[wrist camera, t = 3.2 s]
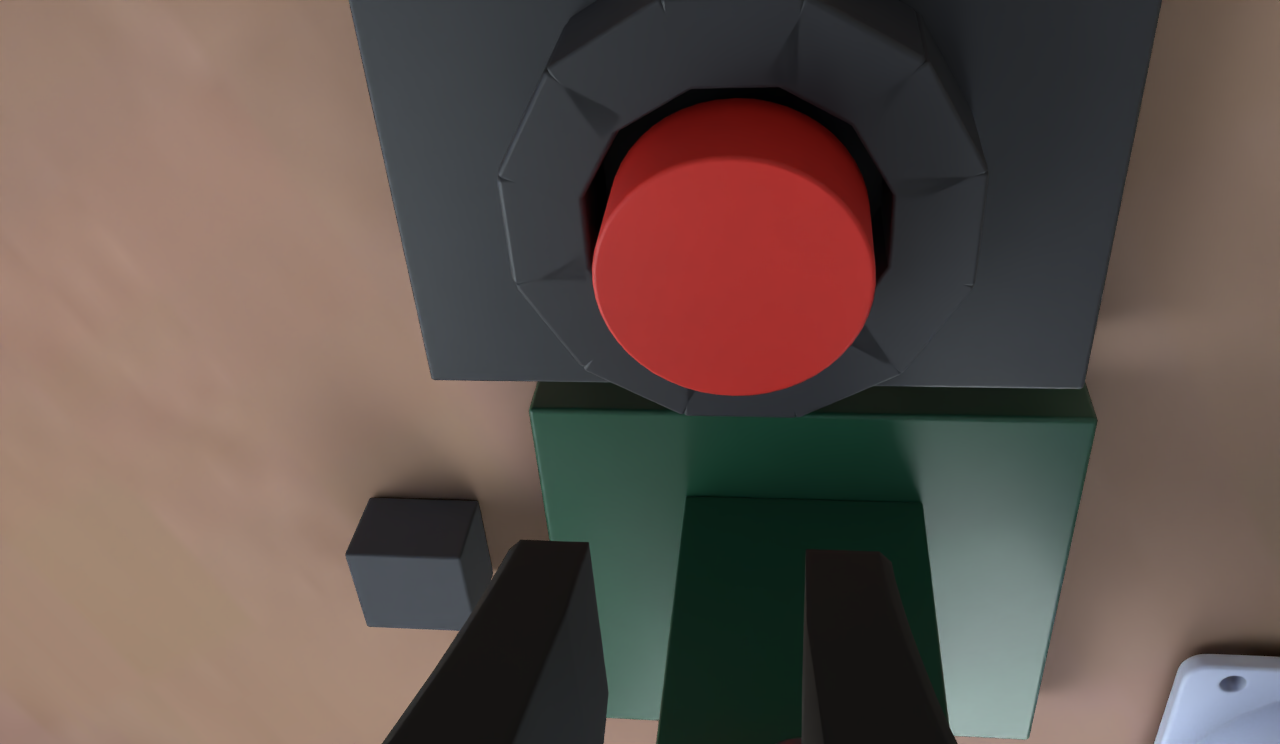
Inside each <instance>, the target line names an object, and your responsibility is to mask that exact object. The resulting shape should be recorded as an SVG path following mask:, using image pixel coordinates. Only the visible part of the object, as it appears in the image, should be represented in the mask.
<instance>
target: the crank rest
mask: <svg viewBox="0 0 1280 744" xmlns="http://www.w3.org/2000/svg"><path fill="white" fill-rule="evenodd" d="M345 555H346V559H347V562H348V565H349V568H350V572H351V575H352V578H353V581H354V585H355V588H356V591H357V594H358V597H359V601H360V604H361V607H362V610H363V614H364V617H365V620H366V623H367V626H369V627H386V628H410V629H433V630H456V631H460V630H461V628H462V627H463V625H464V624H465V622H466V620H467V619H468V617H469V616H470V614H471V613H472V611H473V609H474V608H475V606H476V605H477V603H478V601H479V600H480V598H481V596H482V595H483V593H484V592H485V590H486V588H487V587H488V585H489V583H490V582H491V578H492V575H493V571H492V566H491V561H490V556H489V551H488V546H487V541H486V536H485V532H484V527H483V522H482V517H481V512H480V507H479V503H478V501H465V500H429V499H393V498H370V499H369V501H368V503H367V506H366V508H365V510H364V512H363V515H362V517H361V519H360V522H359V524H358V526H357V528H356V531H355V533H354V535H353V538H352V540H351V542H350V545H349V547H348V549H347V551H346V554H345Z"/></svg>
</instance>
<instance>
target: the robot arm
mask: <svg viewBox="0 0 1280 744" xmlns="http://www.w3.org/2000/svg"><path fill="white" fill-rule="evenodd" d="M608 696H609V691H608V683H607V676H606V668H605V661H604V653H603V646H602V638H601V630H600V623H599V615H598V608H597V600H596V592H595V585H594V577H593V570H592V562H591V554H590V547H589V542H570V541H539V540H520V541H519V542H517V543H516V544H515V545H514V546H513V547H511V548H510V549H509V551H508V553H507V554H506V556H505V558H504V559H503V561H502V563H501V565H500V566H499V568H498V570H497V572H496V573H495V575H494V577H493V578H492V580H491V582H490V583H489V585H488V587H487V588H486V590H485V592H484V593H483V595H482V596H481V598H480V600H479V601H478V603H477V605H476V606H475V608H474V609H473V611H472V613H471V614H470V616H469V617H468V619H467V620H466V622H465V624H464V625H463V627H462V628H461V630H460V631H459V633H458V634H457V636H456V637H455V639H454V640H453V642H452V644H451V645H450V647H449V648H448V650H447V651H446V653H445V654H444V656H443V657H442V659H441V660H440V662H439V663H438V665H437V666H436V668H435V669H434V671H433V672H432V674H431V675H430V676H429V678H428V679H427V681H426V682H425V684H424V685H423V686H422V688H421V689H420V691H419V692H418V693H417V695H416V696H415V698H414V699H413V700H412V702H411V703H410V705H409V706H408V708H407V709H406V710H405V712H404V713H403V715H402V716H401V717H400V719H399V720H398V722H397V723H396V725H395V726H394V727H393V729H392V730H391V732H390V733H389V734H388V736H387V737H386V739H385V740H384V741H383V743H382V744H603V743H604V733H605V724H606V715H607V705H608ZM802 744H957V742H956V740H955V737H954V735H953V733H952V731H951V729H950V727H949V725H948V722H947V720H946V718H945V715H944V713H943V711H942V708H941V706H940V704H939V701H938V699H937V697H936V694H935V692H934V689H933V687H932V684H931V682H930V679H929V677H928V674H927V672H926V669H925V667H924V664H923V661H922V659H921V656H920V654H919V651H918V649H917V646H916V643H915V640H914V637H913V635H912V632H911V629H910V626H909V623H908V620H907V617H906V614H905V611H904V608H903V605H902V601H901V598H900V594H899V591H898V587H897V584H896V580H895V576H894V571H893V566H892V562H891V561H890V560H889V559H887V558H886V557H885V556H884V555H883V554H882V553H880V552H879V551H848V550H817V549H806V558H805V598H804V639H803V679H802ZM1154 744H1280V657H1275V656H1251V655H1227V654H1198V655H1195V656H1192V657H1189V658H1188V659H1186V660H1185V661H1183V662H1182V663H1181V665H1180V667H1179V668H1178V671H1177V674H1176V677H1175V680H1174V683H1173V686H1172V689H1171V692H1170V696H1169V699H1168V702H1167V705H1166V708H1165V711H1164V714H1163V717H1162V720H1161V723H1160V727H1159V730H1158V733H1157V736H1156V739H1155V742H1154Z"/></svg>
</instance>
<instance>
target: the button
mask: <svg viewBox="0 0 1280 744" xmlns="http://www.w3.org/2000/svg"><path fill="white" fill-rule="evenodd" d="M592 283H593V289H594V294H595V299H596V302H597V305H598V308H599V311H600V313H601V315H602V317H603V319H604V321H605V323H606V325H607V327H608V329H609V330H610V332H611V333H612V335H613V336H614V338H615V339H616V340H617V342H618V343H619V344H620V345H621V346H622V347H623V348H624V350H625V351H626V352H627V353H628V354H629V355H630V356H632V357H633V358H634V359H635V360H636V361H637V362H638V363H640V364H641V365H642V366H644V367H645V368H647V369H648V370H650V371H651V372H653V373H654V374H656V375H658V376H660V377H662V378H664V379H665V380H667V381H670V382H672V383H675V384H677V385H680V386H682V387H685V388H688V389H692V390H695V391H699V392H704V393H710V394H716V395H728V396H746V395H757V394H764V393H770V392H774V391H778V390H782V389H786V388H788V387H791V386H794V385H796V384H799V383H801V382H803V381H805V380H807V379H809V378H811V377H813V376H815V375H817V374H818V373H820V372H821V371H823V370H824V369H826V368H827V367H829V366H830V365H831V364H832V363H833V362H835V361H836V360H837V359H838V358H839V357H840V356H842V354H843V353H844V352H845V351H846V350H847V349H848V348H849V347H850V345H851V344H852V343H853V342H854V340H855V339H856V337H857V336H858V334H859V333H860V331H861V330H862V328H863V326H864V324H865V322H866V320H867V318H868V316H869V313H870V310H871V306H872V303H873V300H874V293H875V286H876V266H875V255H874V245H873V235H872V224H871V214H870V204H869V198H868V192H867V188H866V185H865V182H864V179H863V176H862V173H861V171H860V169H859V168H858V166H857V164H856V162H855V160H854V158H853V157H852V156H851V154H850V153H849V151H848V150H847V148H846V147H845V146H844V145H843V144H842V143H841V142H840V141H839V139H838V138H837V137H836V136H835V135H834V134H833V133H831V132H830V131H829V130H828V129H826V128H825V127H824V126H823V125H822V124H820V123H819V122H817V121H815V120H814V119H812V118H810V117H809V116H807V115H805V114H803V113H801V112H799V111H797V110H794V109H792V108H790V107H787V106H784V105H780V104H777V103H774V102H770V101H764V100H758V99H747V98H729V99H717V100H712V101H707V102H702V103H698V104H695V105H692V106H689V107H687V108H684V109H681V110H679V111H677V112H675V113H673V114H671V115H669V116H667V117H665V118H664V119H662V120H661V121H659V122H658V123H656V124H655V125H653V126H652V127H651V128H650V129H649V130H648V131H646V132H645V133H644V134H643V135H642V136H641V137H640V138H639V139H638V140H637V141H636V142H635V144H634V145H633V146H632V147H631V148H630V150H629V151H628V153H627V154H626V156H625V157H624V159H623V161H622V162H621V164H620V166H619V168H618V171H617V173H616V175H615V178H614V181H613V185H612V188H611V192H610V195H609V199H608V203H607V206H606V210H605V213H604V217H603V221H602V224H601V228H600V231H599V235H598V238H597V242H596V246H595V249H594V254H593V262H592Z"/></svg>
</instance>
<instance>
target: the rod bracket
mask: <svg viewBox="0 0 1280 744" xmlns="http://www.w3.org/2000/svg"><path fill="white" fill-rule="evenodd" d="M529 416H530V422H531V428H532V434H533V441H534V447H535V453H536V459H537V466H538V472H539V478H540V484H541V491H542V497H543V503H544V509H545V516H546V522H547V528H548V534H549V541H570V542H589V547H590V554H591V562H592V570H593V577H594V585H595V592H596V600H597V608H598V615H599V623H600V630H601V638H602V646H603V653H604V661H605V668H606V676H607V683H608V691H609V696H608V705H607V715H606V718H620V719H639V720H659V724H658V732H657V741H656V744H802V679H803V639H804V598H805V558H806V549H817V550H848V551H879V552H880V553H882V554H883V555H884V556H885V557H886V558H887V559H889V560H890V561H891V562H892V566H893V571H894V576H895V580H896V584H897V587H898V591H899V594H900V598H901V601H902V605H903V608H904V611H905V614H906V617H907V620H908V623H909V626H910V629H911V632H912V635H913V637H914V640H915V643H916V646H917V649H918V651H919V654H920V656H921V659H922V661H923V664H924V667H925V669H926V672H927V674H928V677H929V679H930V682H931V684H932V687H933V689H934V692H935V694H936V697H937V699H938V701H939V704H940V706H941V708H942V711H943V713H944V715H945V718H946V720H947V722H948V725H949V727H950V729H951V731H952V733H953V735H954V736H964V737H983V738H1002V739H1022V740H1026V739H1028V738H1029V736H1030V731H1031V727H1032V722H1033V718H1034V713H1035V708H1036V704H1037V699H1038V694H1039V690H1040V685H1041V681H1042V676H1043V671H1044V667H1045V662H1046V657H1047V653H1048V648H1049V644H1050V639H1051V634H1052V630H1053V625H1054V620H1055V616H1056V611H1057V607H1058V602H1059V597H1060V593H1061V588H1062V583H1063V579H1064V574H1065V570H1066V565H1067V560H1068V556H1069V551H1070V547H1071V542H1072V537H1073V533H1074V528H1075V523H1076V519H1077V514H1078V510H1079V505H1080V500H1081V496H1082V491H1083V486H1084V482H1085V477H1086V473H1087V468H1088V463H1089V459H1090V454H1091V449H1092V445H1093V440H1094V436H1095V431H1096V426H1097V422H1098V420H1097V417H1096V414H1095V411H1094V408H1093V405H1092V402H1091V398H1090V395H1089V392H1088V389H1087V386H1086V383H1085V384H1084V387H1083V388H1081V389H1044V388H973V387H901V386H872V387H870V388H868V389H865V390H863V391H861V392H858V393H856V394H854V395H851V396H849V397H846V398H844V399H842V400H839V401H837V402H835V403H832V404H830V405H828V406H825V407H823V408H821V409H818V410H816V411H813V412H811V413H809V414H806V415H804V416H802V417H797V416H796V417H794V418H778V417H722V416H687V415H685V413H684V414H679V413H677V412H675V411H672V410H670V409H668V408H666V407H664V406H661V405H659V404H657V403H655V402H653V401H651V400H648V399H646V398H644V397H642V396H640V395H637V394H635V393H633V392H631V391H629V390H626V389H624V388H622V387H620V386H618V385H616V384H613V383H611V382H544V381H538V382H537V385H536V389H535V392H534V395H533V398H532V402H531V405H530V408H529Z"/></svg>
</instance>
